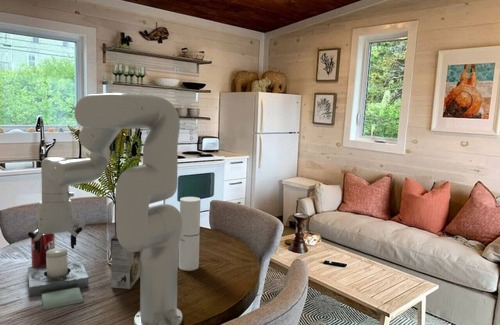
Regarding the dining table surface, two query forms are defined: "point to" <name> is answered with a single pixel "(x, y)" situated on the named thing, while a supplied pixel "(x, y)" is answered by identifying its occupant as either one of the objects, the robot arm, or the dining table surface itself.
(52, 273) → the white rounded cylinder
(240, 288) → the dining table surface
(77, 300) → the mat
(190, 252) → the cylindrical container
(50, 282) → the housing
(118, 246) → the coffee box
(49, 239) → the soda can
